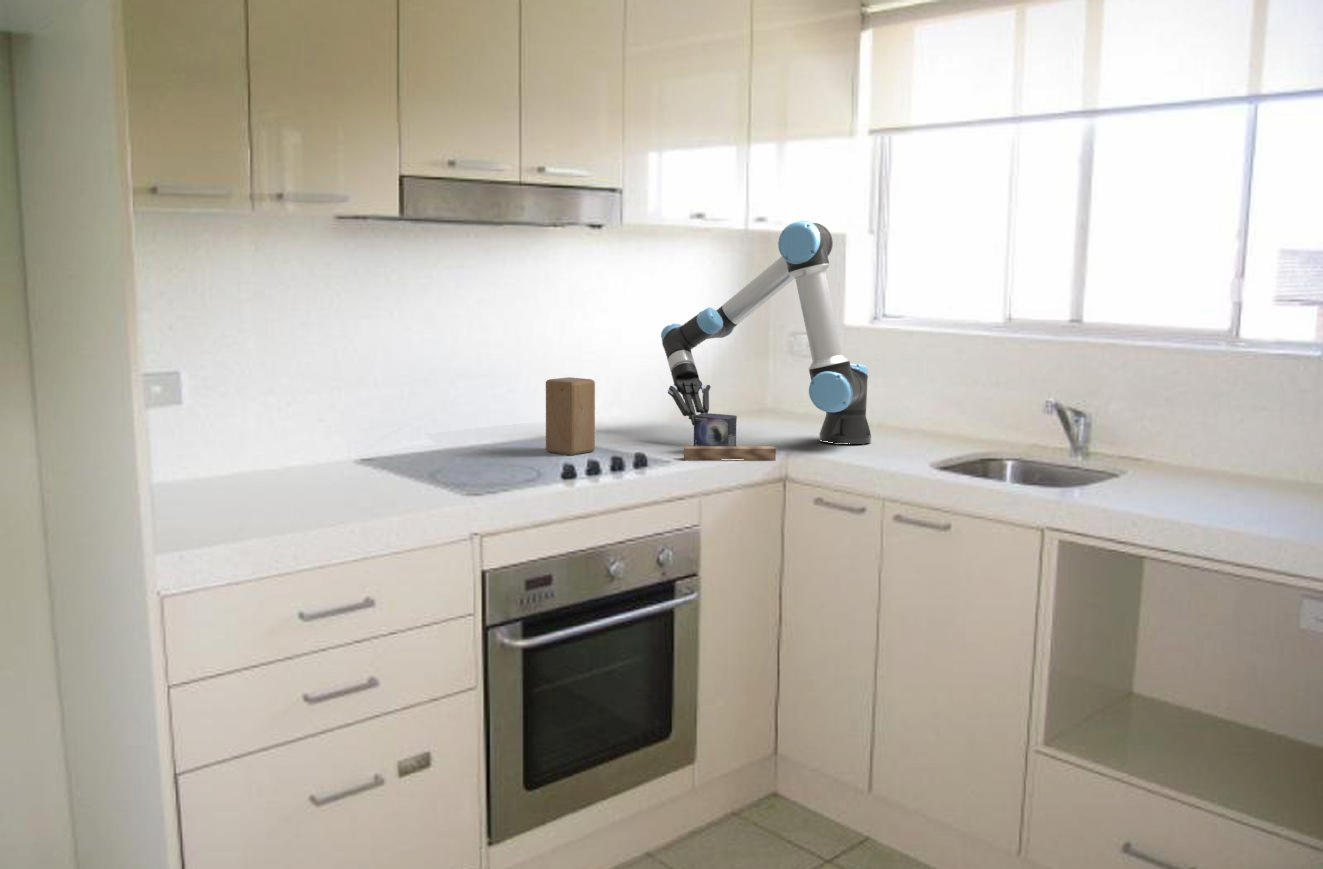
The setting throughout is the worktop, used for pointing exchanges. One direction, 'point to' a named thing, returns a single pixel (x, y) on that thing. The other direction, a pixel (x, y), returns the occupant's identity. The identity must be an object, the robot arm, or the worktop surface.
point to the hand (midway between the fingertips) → (702, 433)
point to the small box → (714, 430)
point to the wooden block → (570, 416)
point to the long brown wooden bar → (730, 453)
